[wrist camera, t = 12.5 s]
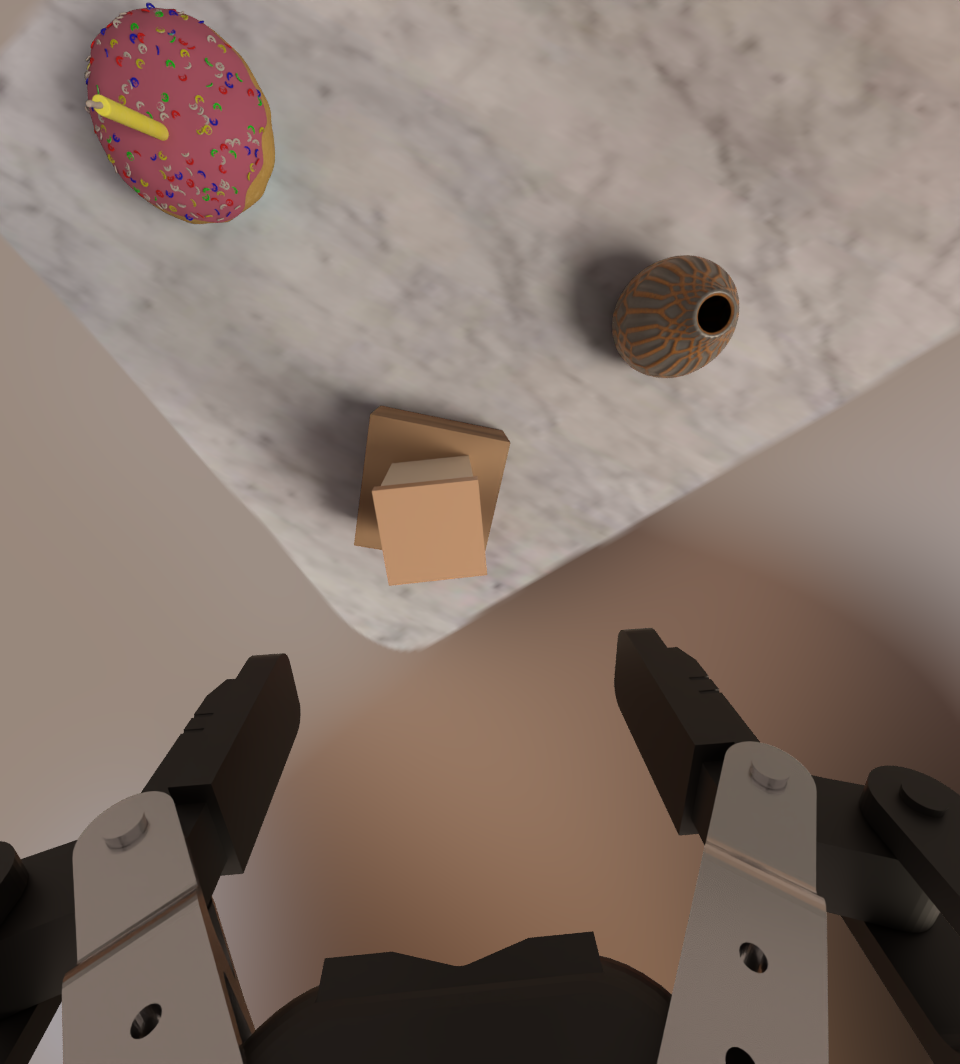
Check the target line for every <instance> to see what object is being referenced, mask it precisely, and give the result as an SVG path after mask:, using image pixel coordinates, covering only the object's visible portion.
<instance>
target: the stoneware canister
mask: <svg viewBox="0 0 960 1064" xmlns="http://www.w3.org/2000/svg"><path fill="white" fill-rule="evenodd" d="M372 495H373V500H374V506H375V511H376V517H377V522H378V528H379V533H380V539H381V544H382V550H383V555H384V561H385V566H386V572H387V577H388V583H389V586H391V585H400V584H409V583H418V582H427V581H436V580H445V579H454V578H464V577H473V576H482V575H487V568H486V558H485V547H484V537H483V526H482V515H481V505H480V494H479V484H478V477H477V476H473V474H472V469H471V464H470V459H469V455H467V456H458V457H448V458H438V459H429V460H419V461H409V462H400V463H392V464H391V466H390V468H389V470H388V472H387V474H386V476H385V478H384V480H383V482H382V484H381V486H376V487H374V488H373V490H372Z"/></svg>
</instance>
